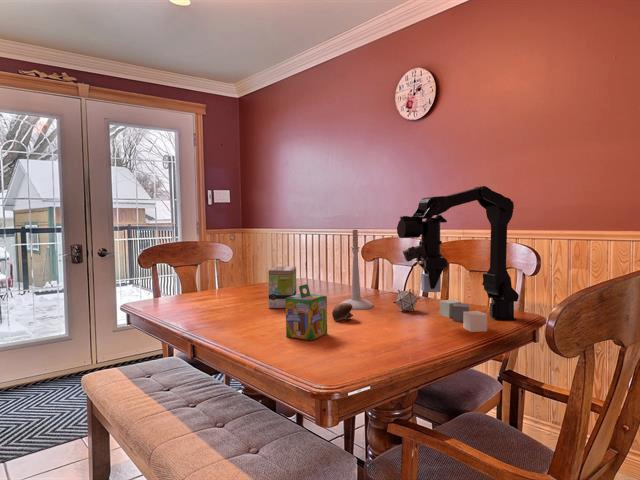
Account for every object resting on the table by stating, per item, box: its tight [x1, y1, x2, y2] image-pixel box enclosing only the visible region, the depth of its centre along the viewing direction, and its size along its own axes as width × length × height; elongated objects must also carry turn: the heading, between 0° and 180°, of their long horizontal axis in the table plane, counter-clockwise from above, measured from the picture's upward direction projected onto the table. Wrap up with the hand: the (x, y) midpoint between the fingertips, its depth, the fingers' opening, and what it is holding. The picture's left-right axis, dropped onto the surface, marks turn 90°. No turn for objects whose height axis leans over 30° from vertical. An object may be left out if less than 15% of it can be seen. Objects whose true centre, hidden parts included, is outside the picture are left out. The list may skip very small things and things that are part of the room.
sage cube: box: [439, 299, 462, 319], centre depth 145 cm, size 5×5×5 cm
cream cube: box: [462, 310, 488, 333], centre depth 127 cm, size 5×5×5 cm
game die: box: [392, 288, 421, 313], centre depth 153 cm, size 9×8×10 cm
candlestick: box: [339, 229, 374, 311], centre depth 162 cm, size 13×13×30 cm
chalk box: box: [285, 283, 328, 341], centre depth 123 cm, size 9×9×15 cm
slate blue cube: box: [420, 273, 442, 293], centre depth 132 cm, size 5×5×5 cm
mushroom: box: [331, 302, 354, 321], centre depth 141 cm, size 8×8×6 cm
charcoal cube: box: [452, 302, 470, 323], centre depth 139 cm, size 5×5×5 cm
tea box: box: [268, 265, 297, 309], centre depth 169 cm, size 15×10×15 cm
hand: (430, 287), depth 132 cm, fingers closed on slate blue cube, 5 cm apart
